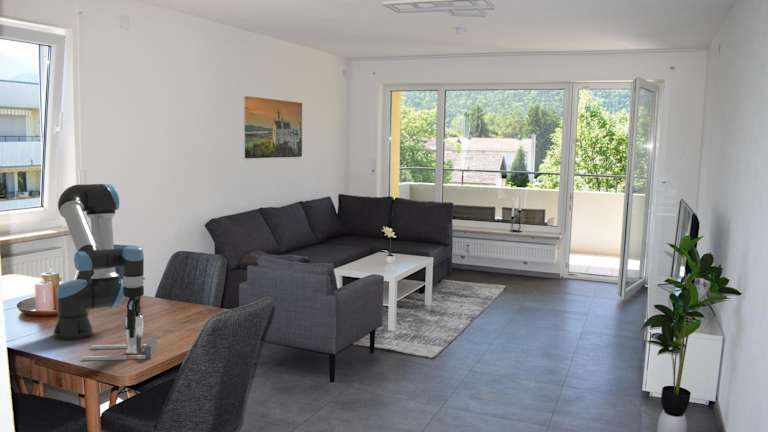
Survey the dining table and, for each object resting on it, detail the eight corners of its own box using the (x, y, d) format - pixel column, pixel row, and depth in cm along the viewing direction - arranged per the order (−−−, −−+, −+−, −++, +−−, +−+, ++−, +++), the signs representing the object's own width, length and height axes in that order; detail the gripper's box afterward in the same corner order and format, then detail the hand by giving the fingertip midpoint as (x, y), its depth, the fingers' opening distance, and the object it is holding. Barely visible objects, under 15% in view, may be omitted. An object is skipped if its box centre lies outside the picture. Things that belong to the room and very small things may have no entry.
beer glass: (146, 349, 258) (145, 313, 256) (140, 354, 251) (139, 317, 249) (128, 348, 258) (128, 312, 256) (122, 354, 251) (121, 317, 249)
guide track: (82, 360, 244) (82, 347, 244) (92, 348, 258) (92, 336, 258) (150, 358, 249) (150, 346, 248) (156, 346, 263) (156, 334, 262)
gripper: (138, 291, 242) (139, 350, 245) (148, 280, 261) (148, 334, 264) (117, 291, 241) (118, 350, 244) (128, 280, 260) (129, 334, 263)
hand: (134, 341), depth 254 cm, fingers closed on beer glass, 7 cm apart
